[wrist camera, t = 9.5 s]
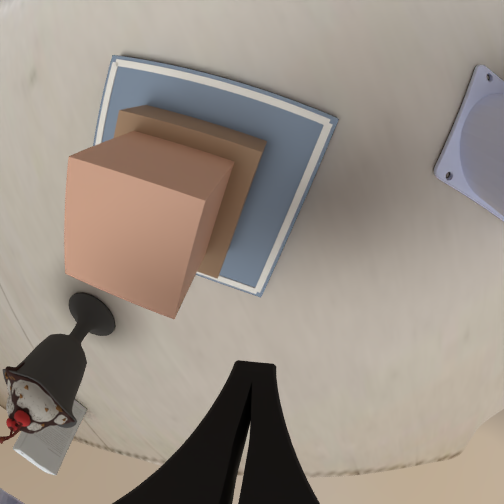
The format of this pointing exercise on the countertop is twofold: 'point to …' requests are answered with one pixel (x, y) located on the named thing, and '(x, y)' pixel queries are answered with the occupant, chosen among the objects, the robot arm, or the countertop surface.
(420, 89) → the countertop surface
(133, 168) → the terracotta block
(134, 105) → the blueprint board
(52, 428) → the skincare box
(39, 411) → the sundae
